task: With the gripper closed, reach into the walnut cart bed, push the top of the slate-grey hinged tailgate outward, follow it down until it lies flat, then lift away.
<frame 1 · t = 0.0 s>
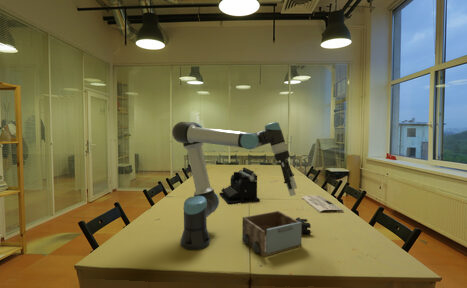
hand: (293, 191, 116), 28 cm above the table, tool tilted 20°, fingers open, 13 cm apart
cart: (271, 242, 120), on the table
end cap: (302, 232, 133), on the table
typewriter: (238, 198, 202), on the table
newspaper: (319, 205, 184), on the table
tailgate: (284, 237, 110), point 7 cm above the table, hinge at 0.0°
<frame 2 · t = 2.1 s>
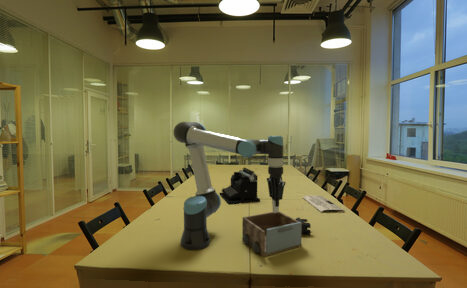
hand: (275, 212, 116), 17 cm above the table, tool pointing down, fingers closed
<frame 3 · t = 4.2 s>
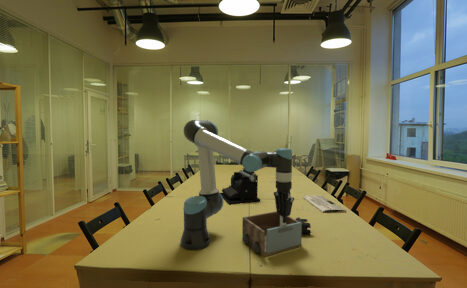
hand: (282, 228, 111), 11 cm above the table, tool pointing down, fingers closed
tailgate: (284, 237, 110), point 7 cm above the table, hinge at 0.9°, touching gripper
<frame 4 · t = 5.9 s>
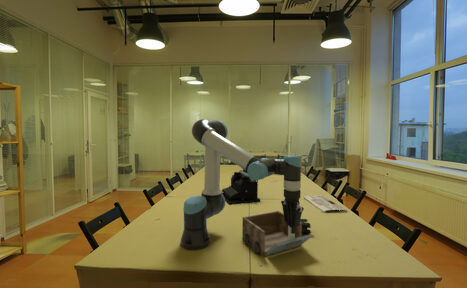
hand: (291, 239, 106), 8 cm above the table, tool pointing down, fingers closed
tailgate: (289, 245, 107), point 5 cm above the table, hinge at 44.8°, touching gripper
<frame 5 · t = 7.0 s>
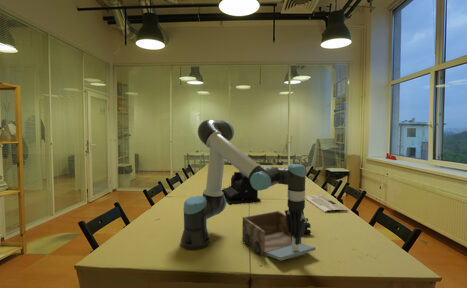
hand: (295, 250, 104), 5 cm above the table, tool pointing down, fingers closed
tailgate: (290, 251, 106), point 2 cm above the table, hinge at 75.2°, touching gripper
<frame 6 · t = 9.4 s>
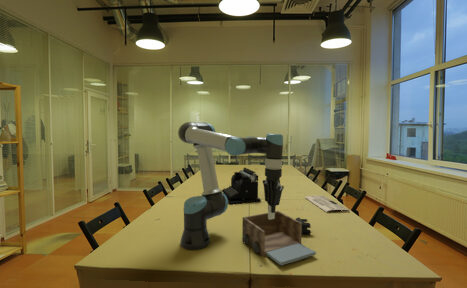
hand: (271, 218, 105), 18 cm above the table, tool pointing down, fingers closed
tailgate: (290, 254, 106), point 1 cm above the table, hinge at 86.0°
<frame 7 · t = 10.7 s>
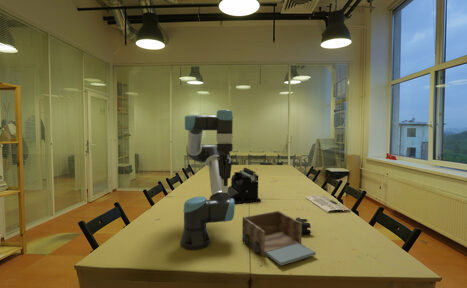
hand: (224, 192, 109), 29 cm above the table, tool pointing down, fingers closed
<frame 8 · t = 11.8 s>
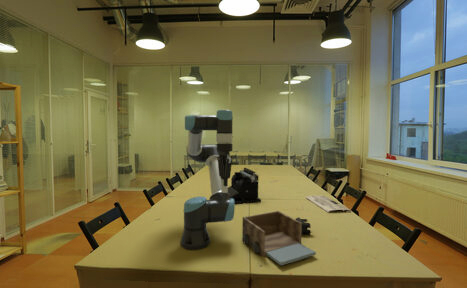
hand: (224, 192, 109), 29 cm above the table, tool pointing down, fingers closed
at the end: tailgate at +86° (first picture: +0°); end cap moved 0.3 cm from its start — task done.
